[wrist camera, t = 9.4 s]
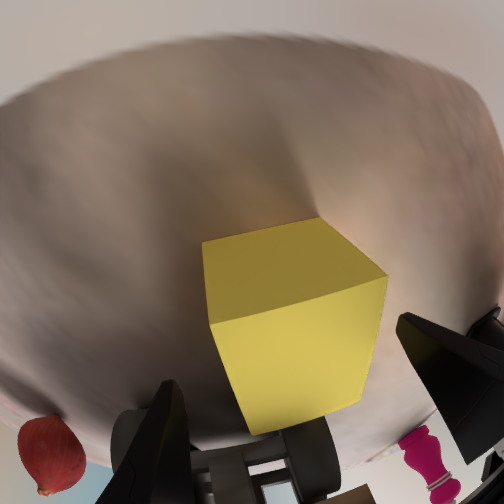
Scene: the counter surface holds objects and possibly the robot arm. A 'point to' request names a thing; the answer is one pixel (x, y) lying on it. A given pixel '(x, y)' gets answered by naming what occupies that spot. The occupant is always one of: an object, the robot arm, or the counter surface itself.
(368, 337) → the block
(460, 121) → the counter surface
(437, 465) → the pepper mill
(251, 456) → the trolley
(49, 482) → the onion
